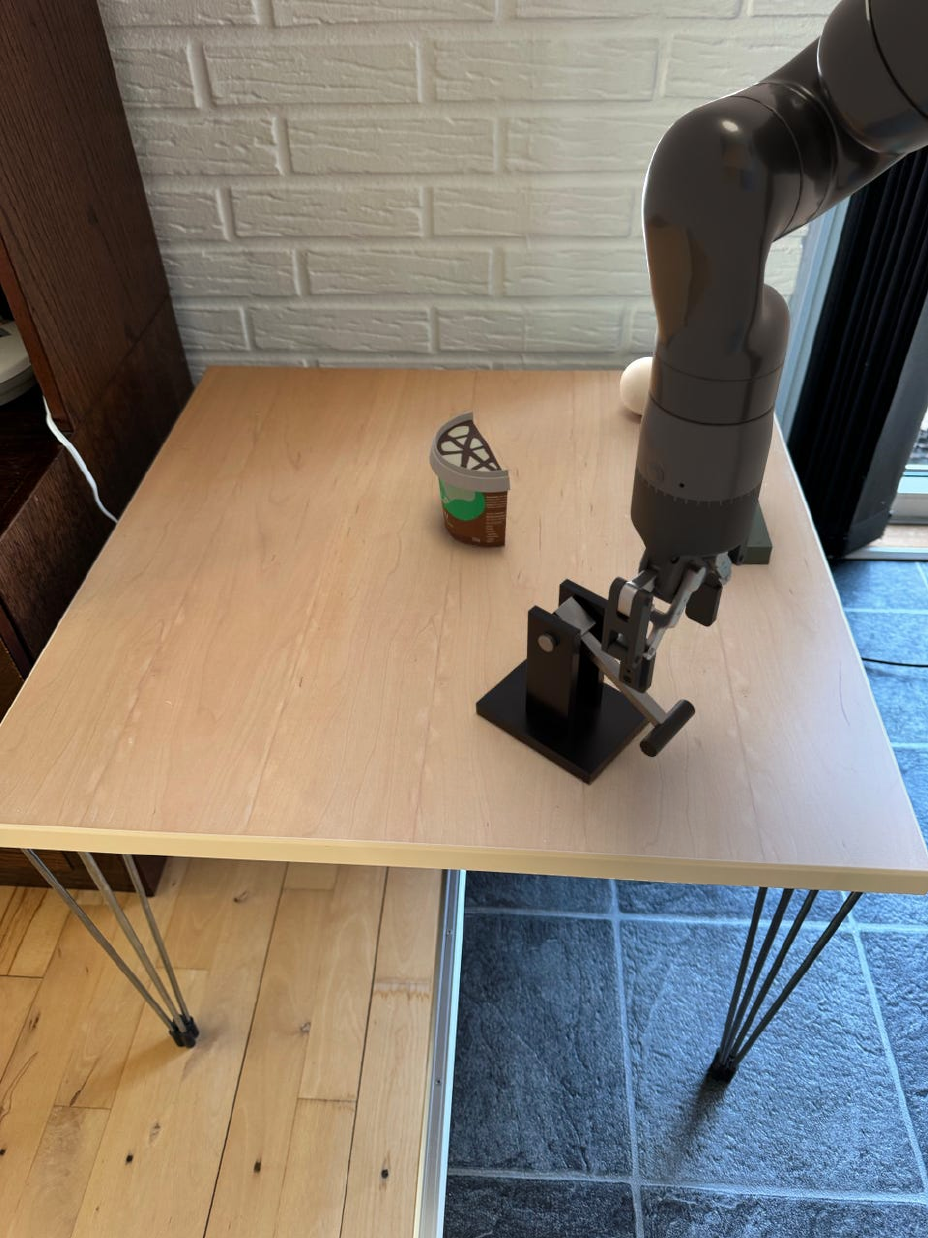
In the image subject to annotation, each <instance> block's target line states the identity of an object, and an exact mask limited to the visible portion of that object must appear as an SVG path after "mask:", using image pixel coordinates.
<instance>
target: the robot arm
mask: <svg viewBox="0 0 928 1238" xmlns="http://www.w3.org/2000/svg"><path fill="white" fill-rule="evenodd" d="M926 146H928V0H840V1H839V2H838V3H837V5H836V6H835V7H834V9H833V10H832V11H831V12H830V14H829V16H828V17H827V19H826V21H825V22H824V24H823V27H822V30H821V33H820V34H819V36H818V37H816V38H815V39H814V40H813V41H811V42H810V43H809V44H808V45H807V46H805V47H804V48H803V49H802V50H801V51H800V52H798V54H796V55H795V56H793V57H792V58H791V59H790V60H789V61H787V62H786V63H785V64H783V65H782V66H780V67H779V68H777V69H776V70H775V71H773V72H771V73H770V74H768V75H767V76H765V77H764V78H762V79H761V80H759V81H758V82H756V83H754V84H752V85H749V86H747V87H744V88H742V89H740V90H737V91H734V92H732V93H729V94H727V95H725V96H722V97H719V98H716V99H714V100H712V101H709V102H706V103H705V104H704V103H703V104H702V105H700V106H697V107H695V108H693V109H690V111H687V112H685V113H684V114H682V115H681V116H680V117H679V118H678V119H676V120H675V121H674V122H673V123H672V124H671V125H670V126H669V127H668V128H667V130H666V131H665V133H664V134H663V135H662V136H661V139H660V140H659V142H658V143H657V146H656V147H655V149H654V152H653V154H652V157H651V160H650V163H649V165H648V168H647V172H646V175H645V179H644V184H643V189H642V196H641V197H642V198H641V225H642V235H643V241H644V249H645V257H646V263H647V271H648V277H649V287H650V292H651V298H652V302H653V307H654V313H655V318H656V329H655V330H656V331H655V336H654V343H653V353H652V357H653V359H652V368H651V376H650V385H649V391H648V396H647V400H646V403H645V407H644V410H643V414H642V415H641V419H640V425H639V432H638V440H637V441H638V442H637V450H636V457H635V466H634V467H635V468H634V475H633V476H634V477H633V486H632V494H631V503H630V510H629V512H630V520H631V523H632V525H633V527H634V529H635V531H636V532H637V534H638V535H639V537H640V539H641V541H642V543H643V544H644V547H645V549H644V551H643V554H642V555H641V558H640V560H639V563H638V569H637V575H636V576H635V577H633V578H632V579H631V580H630V581H629V580H627V579H625V578H623V577H621V576H616V577H615V578H614V579H613V580H612V582H611V584H610V586H609V590H608V597H607V600H608V603H607V610H606V617H605V624H604V631H603V638H602V645H601V651H603V652H605V653H607V654H608V655H610V656H612V657H614V658H615V659H616V660H617V661H619V664H620V669H619V677H618V678H619V681H620V682H621V683H623V684H625V685H627V686H628V687H630V688H632V689H634V690H636V691H637V692H639V693H645V692H647V691H648V690H649V689H650V688H651V687H652V684H653V676H654V670H655V666H656V665H655V663H656V658H657V651H658V648H659V645H660V643H661V641H662V639H663V637H664V635H665V634H666V631H667V630H670V629H674V628H676V626H677V625H678V623H679V621H680V619H681V617H682V615H683V613H684V614H685V616H686V617H687V618H688V619H689V620H692V621H693V622H695V623H697V624H699V625H701V626H703V627H705V628H709V627H711V626H712V625H713V624H714V623H715V622H716V621H717V617H718V613H719V608H720V604H721V598H722V593H723V589H724V586H725V585H727V584H728V582H729V581H730V580H731V578H732V572H733V571H732V569H731V567H732V565H735V566H736V567H739V566H741V565H742V564H741V563H742V562H743V561H744V559H745V555H746V550H747V545H748V540H749V535H750V531H751V529H752V525H753V520H754V516H755V512H756V507H757V503H758V500H759V499H760V493H761V488H762V485H763V481H764V480H763V479H764V475H765V471H766V468H767V467H766V466H767V463H768V458H769V454H770V449H771V444H772V438H773V432H774V431H773V430H774V418H775V417H774V415H775V405H776V400H777V396H778V391H779V387H780V383H781V379H782V375H783V374H782V373H783V368H784V365H785V360H786V355H787V351H788V346H789V345H788V344H789V338H790V337H789V336H790V329H791V314H790V310H789V306H788V304H787V301H786V300H785V298H784V297H783V295H782V294H781V293H780V292H779V291H778V290H777V289H775V288H774V287H773V286H771V285H769V284H768V283H767V282H765V274H766V272H765V271H766V265H767V261H768V257H769V253H770V252H771V251H770V250H771V247H772V246H773V243H776V242H777V241H779V240H781V239H782V238H784V237H786V236H788V235H791V234H792V233H794V232H796V231H797V230H799V229H800V228H802V227H804V226H806V225H807V224H809V223H811V222H813V221H814V220H816V219H817V218H819V217H821V216H822V215H824V214H825V213H827V212H828V211H829V210H831V209H832V208H834V207H836V206H838V205H839V204H840V203H841V202H843V201H844V200H846V199H848V198H849V197H850V196H852V195H853V194H855V193H856V192H858V191H859V190H860V189H862V188H863V187H864V186H865V187H866V185H868V184H869V183H871V182H872V181H873V180H875V179H876V178H878V177H879V176H880V175H881V174H883V173H884V172H885V171H887V170H889V169H890V168H891V167H892V166H894V165H895V164H896V163H898V162H899V161H901V160H902V159H903V158H904V157H906V156H907V155H908V154H910V153H913V152H915V151H918V150H920V149H922V148H924V147H926ZM654 597H655V598H656V599H658V600H661V602H665V603H666V604H669V605H670V606H669V608H668V610H667V611H666V612H664V611H661V610H659V609H658V608H656V605H655V604H654V603H653V602H654ZM650 623H652V628H651V631H650V633H649V634H648V630H649V624H650ZM647 635H648V636H647Z"/></svg>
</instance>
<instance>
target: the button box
mask: <svg viewBox="0 0 928 1238" xmlns="http://www.w3.org/2000/svg"><path fill="white" fill-rule="evenodd" d="M773 548H774V547H773V543H772V540H771V537H770V533H769V531H768V527H767V523H766V521H765V517H764V514H763V511H762V507H761V503H760V500H759V499H758V503H757V507H756V512H755V516H754V520H753V525H752V529H751V531H750V535H749V540H748V545H747V550H746V555H745V559H744V561H743V562H742V563H741V564H740V565H769V563H770V560H771V555H772V551H773Z"/></svg>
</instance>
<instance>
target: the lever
mask: <svg viewBox="0 0 928 1238" xmlns="http://www.w3.org/2000/svg"><path fill="white" fill-rule="evenodd" d="M551 614H553V615H555V616H557V617H559V618H560V619H562V620H564V621H566V622H568V623H570V624H571V625H573V626H575V627H577V628H579V629H581V639H580V649H581V650H582V651H583V652H584V653H585V654H586V655H587V656H588V657H589V658H590V659H591V660H592V661H593V663H594V664H595V665H596V666H597V667H598V668H599V669H600V670H601V671H602V672H603V673H604V674H605V677H606V678H607V679H608V680H609V681H610V682H611V683H612V684H613V685H614V686H615V688H616V689H617V690H619V691H620V692H622V693H623V694H624V695H625V696H626V698H627V699H628V700H629V701H630V702H631V703H632V704H633V705H634V706H635V707H636V708H637V709H638V710H639V711H640V712H641V713H642V715H643V716H644V717H645V718H646V719H647V720H648V721H649V722H648V723H650V725H652V726H653V727H652V729H651V730H650V731H649V732H648V733H647V734H646V735H645V736H644V737H643V738H642V739H641V740H640V742H639V745H638V747H639V749H640V751H641V752H642V753H643V754H644V755H645V756H646V757H648V758H656V757H657V756H658V754H659V753H661V751H662V750H663V749H665V747H666V746H667V745H668V744H669V743H670V742H671V740H673V739H674V737H675V736H676V735H677V734H678V733H679V732H680V731H681V730H682V728H683V727H685V725H686V724H687V723H688V722H689V721H690V720H691V719H692V718H693V716H694V715H696V708H695V706H694V705H693V703H692V702H691V701H689V700H687V699H684V698H683V699H679V700H678V701H677V702H676V703H675V704H674V705H673V707H671V709H670V710H668V712H666V711H665V709H663V708H662V707H661V706H660V704H658V703H657V702H656V700H655V699H653V697H652V696H651V695H650V694H649V693H648V692H647V691H646V692H645V693H639V692H637V691H636V690H634V689H632V688H630V687H628V686H627V685H625V684H623V683H621V682H620V681H619V678H618V677H619V669H620V662H618V660H617V659H616V658H614V657H612V656H610V655H608V654H607V653H605V652H603V651H601V644H600V643H599V641H598V640H597V639H596V638H595V637H594V636H593V635H592V634H591V633H590V632H589V631H588V630H589V629H590V628H591V627H592V626H593V625H594V624H595V623H596V622H595V621H594V620H593V619H592V618H591V616H590V615H589V614H588V613H587V612H586V611H585V610H584V609H583V608H582V607H581V606H580V605H579V604H578V603H577V602H576V601H575V600H574V599H573V598H572V597H570V598H569V599H568V600H567V601H565V602H564V603H563V604H562V605H561V606H560V607H558V606H557V608H556V609H555V610H553V611H552V613H551Z"/></svg>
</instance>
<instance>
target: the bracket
mask: <svg viewBox="0 0 928 1238" xmlns="http://www.w3.org/2000/svg"><path fill="white" fill-rule="evenodd" d="M558 586H559V587H558V603H557V604H558V605H557V608H558V607H560V606H561V605H562V604H563V603H564V602H565V601H567V600H568V599H569V598H570V597H572V598H573V599H574V600H575V601H576V602H577V603H578V604H579V605H580V606H581V607H582V608H583V609H584V610H585V611H586V612H587V613H588V614H589V615H590V616H591V618H592V619H593V620H594V621H595V622H596V623H595V624H594V625H593V626H592V627H591V628H590V629H589V630H588V631H589V632H590V633H591V634H592V635H593V636H594V637H595V638H596V639H597V640H598V641H599V643H600V644H601V645H602V638H603V631H604V624H605V617H606V610H607V603H608V598H606V597H603V596H601V595H600V594H597V593H595V592H594V591H592V590H590V589H588V588H587V587H585V586H583V585H580V584H579V583H576V582H574V581H573V580H571V579H569V578H565V579H564V580H563V581H562V582H560V584H559V585H558ZM526 622H527V625H526V626H527V627H526V658H525V659H523V661H521V663H519V664H518V665H517V666H516V667H515V668H514V669H513V670H511V671H510V672H509V673H507V675H506V676H504V677H503V678H502V679H501V680H500V681H498V683H497V684H495V685H494V686H493V687H492V688H490V690H489V691H488V692H486V693H485V694H484V695H483V696H482V697H481V698H480V699H478V700H477V701H476V702H475V712H476V714H478V715H479V716H480V717H482V718H483V719H485V720H487V721H489V722H490V723H491V724H493V725H495V726H496V727H498V728H499V729H501V730H503V731H504V732H505V733H507V734H509V735H510V736H512V737H514V738H515V739H517V740H518V741H520V742H521V743H523V744H525V745H526V746H527V747H529V748H531V749H532V750H534V751H535V752H537V753H538V754H540V755H542V756H543V757H545V758H546V759H548V760H550V761H551V762H552V763H554V764H555V765H557V766H559V767H561V768H562V769H564V771H566V772H568V773H570V774H571V775H573V776H575V778H577V779H579V780H580V781H582V782H584V783H585V784H587V785H591V783H593V781H594V780H596V778H597V777H598V776H599V775H600V774H601V772H603V771H604V770H605V769H606V767H607V766H609V764H611V762H612V761H613V760H614V759H615V758H616V757H617V756H618V755H619V754H620V753H621V752H622V751H623V750H624V749H625V748H626V746H628V745H629V743H630V742H631V741H633V739H634V738H635V737H636V736H637V735H638V734H639V733H640V732H641V731H642V730H643V729H644V728H645V727H646V726H647V725H648V724H649V723H650V722H649V721H648V720H647V719H646V718H645V717H644V716H643V715H642V713H641V712H640V711H639V710H638V709H637V708H636V707H635V706H634V705H633V704H632V703H631V702H630V701H629V700H628V699H627V698H626V696H625V695H624V694H623V693H622V692H621V691H620V690H619V689H618V688H616V687H614V686H611V685H610V684H608V683H606V682H605V677H606V675H605V674H604V673H603V672H602V671H601V670H600V669H599V668H598V667H597V666H596V665H595V664H594V663H593V661H592V660H591V659H590V658H589V657H588V656H587V655H586V654H585V653H584V652H583V651H582V650H581V649H580V639H581V629H579V628H577V627H575V626H573V625H571V624H570V623H568V622H566V621H564V620H562V619H560V618H559V617H557V616H555V615H553V614H552V613H551V612H550V611H547V610H546V609H544V608H542V607H541V606H539V605H537V604H534V605H533V606H532V607H530V609H528V611H527V621H526Z"/></svg>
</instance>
